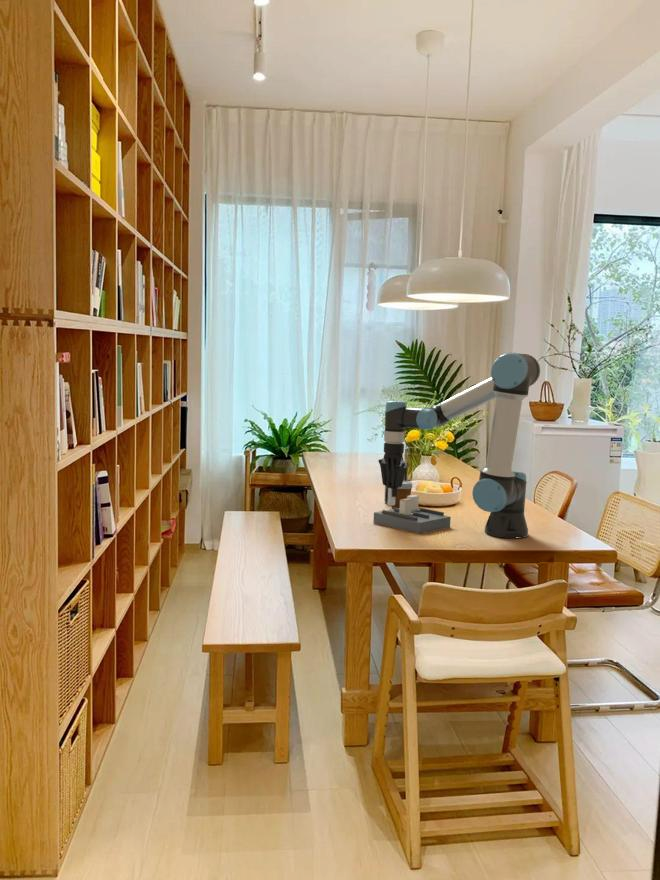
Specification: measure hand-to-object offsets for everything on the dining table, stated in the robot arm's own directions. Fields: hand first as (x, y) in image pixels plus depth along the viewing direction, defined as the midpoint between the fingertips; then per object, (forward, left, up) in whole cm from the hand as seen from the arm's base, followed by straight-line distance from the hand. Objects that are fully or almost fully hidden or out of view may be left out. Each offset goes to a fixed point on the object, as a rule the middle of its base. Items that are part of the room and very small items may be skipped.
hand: (391, 504), depth 283 cm
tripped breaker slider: (-7, 0, -3) cm, 7 cm away
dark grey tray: (-7, -4, -7) cm, 11 cm away
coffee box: (+26, -33, -7) cm, 43 cm away
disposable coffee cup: (+13, -21, -7) cm, 26 cm away
